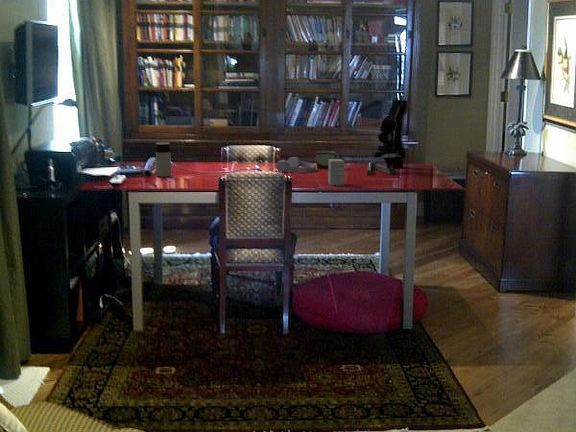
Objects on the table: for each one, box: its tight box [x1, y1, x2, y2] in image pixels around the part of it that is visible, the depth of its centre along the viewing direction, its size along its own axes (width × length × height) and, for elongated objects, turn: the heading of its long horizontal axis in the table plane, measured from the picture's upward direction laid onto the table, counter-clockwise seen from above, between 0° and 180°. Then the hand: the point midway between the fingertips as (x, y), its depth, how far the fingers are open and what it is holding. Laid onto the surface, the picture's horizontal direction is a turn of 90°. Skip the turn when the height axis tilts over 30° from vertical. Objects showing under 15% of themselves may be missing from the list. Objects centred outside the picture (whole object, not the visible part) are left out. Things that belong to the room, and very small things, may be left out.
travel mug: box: [155, 141, 172, 178], centre depth 432 cm, size 8×8×18 cm
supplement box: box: [327, 158, 345, 187], centre depth 406 cm, size 7×7×13 cm
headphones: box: [275, 156, 317, 174], centre depth 455 cm, size 22×7×20 cm
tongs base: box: [366, 161, 377, 176], centre depth 451 cm, size 28×5×4 cm, turn 174°
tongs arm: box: [374, 164, 397, 176], centre depth 449 cm, size 24×2×2 cm, turn 18°
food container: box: [314, 150, 337, 170], centre depth 463 cm, size 12×6×10 cm, turn 84°
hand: (388, 169), depth 449 cm, fingers closed
